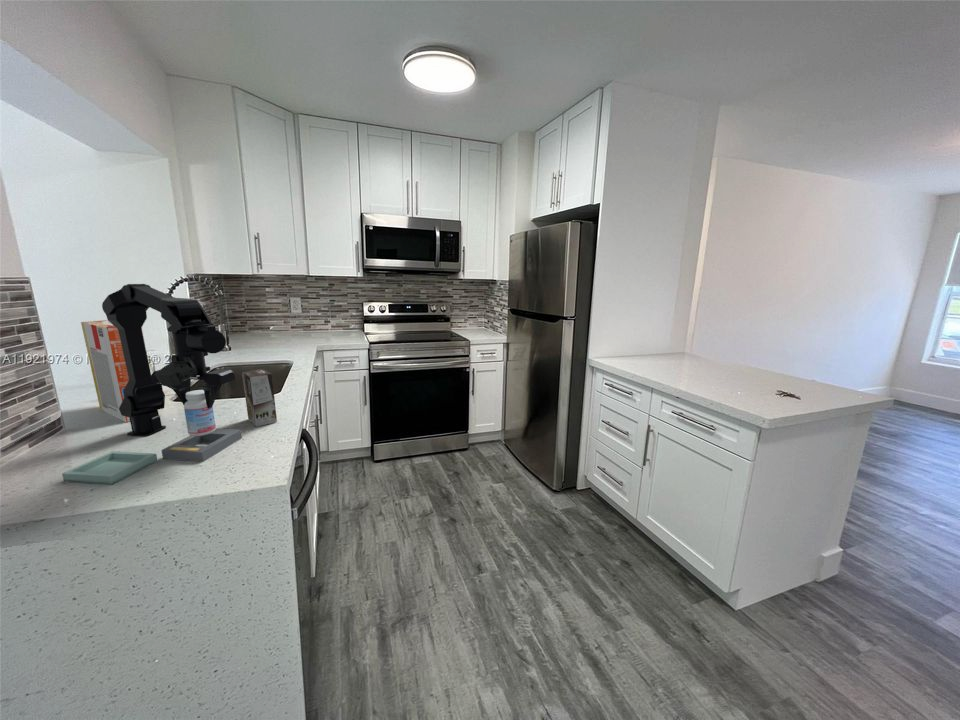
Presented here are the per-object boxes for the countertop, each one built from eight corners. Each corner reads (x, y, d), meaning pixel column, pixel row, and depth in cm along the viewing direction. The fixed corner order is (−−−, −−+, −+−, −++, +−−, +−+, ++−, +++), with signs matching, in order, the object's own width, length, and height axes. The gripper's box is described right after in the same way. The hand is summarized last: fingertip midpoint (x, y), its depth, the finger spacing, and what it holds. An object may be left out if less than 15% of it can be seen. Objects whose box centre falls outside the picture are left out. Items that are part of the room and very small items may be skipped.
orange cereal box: (158, 414, 125) (141, 325, 118) (126, 422, 118) (106, 327, 112) (130, 402, 136) (113, 319, 130) (100, 408, 130) (80, 322, 123)
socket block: (163, 459, 96) (161, 449, 95) (206, 436, 110) (204, 427, 109) (203, 461, 95) (201, 451, 95) (242, 438, 109) (240, 429, 108)
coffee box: (278, 422, 121) (272, 373, 117) (255, 427, 116) (249, 377, 113) (269, 414, 127) (263, 368, 123) (247, 419, 123) (241, 371, 119)
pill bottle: (201, 438, 98) (195, 396, 95) (182, 435, 99) (175, 394, 97) (221, 428, 104) (216, 389, 101) (203, 426, 105) (197, 388, 102)
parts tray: (64, 481, 85) (61, 473, 85) (113, 458, 96) (112, 451, 96) (112, 484, 84) (111, 476, 84) (157, 460, 95) (156, 453, 95)
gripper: (124, 355, 89) (136, 417, 93) (198, 357, 88) (208, 420, 91) (166, 346, 100) (175, 402, 104) (232, 348, 99) (240, 404, 102)
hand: (198, 407), depth 100 cm, fingers closed on pill bottle, 6 cm apart
